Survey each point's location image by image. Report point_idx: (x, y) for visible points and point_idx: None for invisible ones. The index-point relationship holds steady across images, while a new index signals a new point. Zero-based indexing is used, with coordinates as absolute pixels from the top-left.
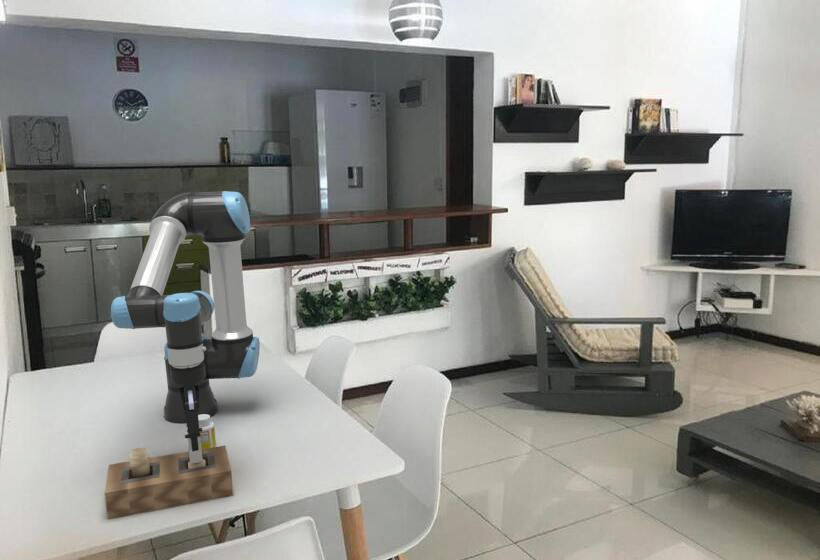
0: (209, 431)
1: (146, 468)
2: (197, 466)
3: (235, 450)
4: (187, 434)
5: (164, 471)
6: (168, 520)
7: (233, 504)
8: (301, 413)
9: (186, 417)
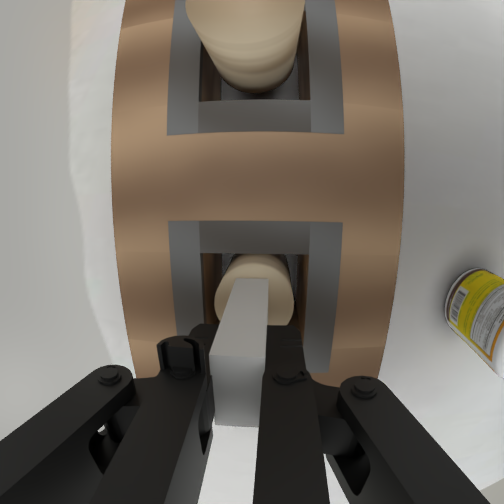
0: (489, 361)
1: (218, 67)
2: (214, 304)
3: (442, 375)
4: (180, 372)
5: (219, 153)
6: (88, 173)
7: (122, 343)
8: (487, 465)
9: (253, 496)
